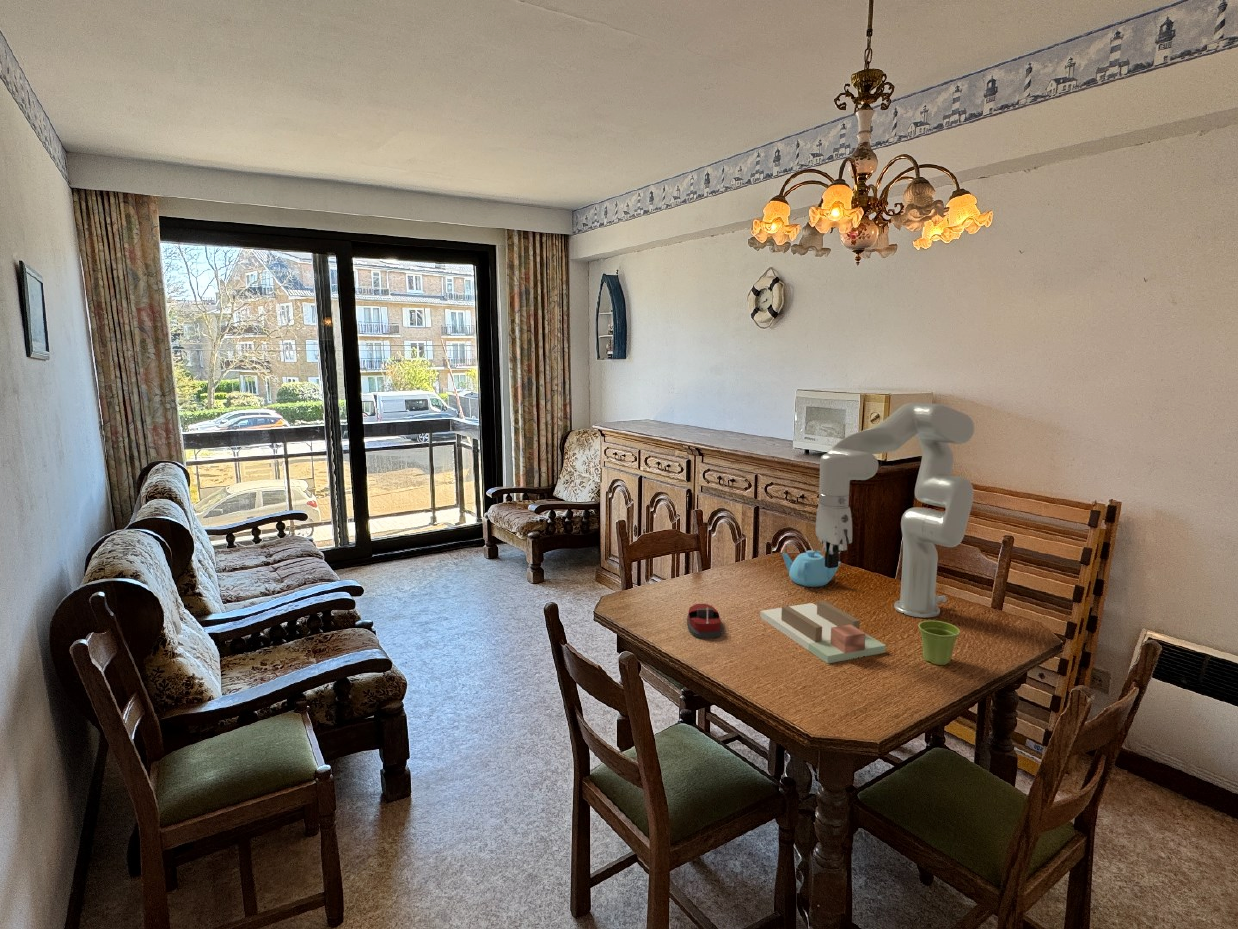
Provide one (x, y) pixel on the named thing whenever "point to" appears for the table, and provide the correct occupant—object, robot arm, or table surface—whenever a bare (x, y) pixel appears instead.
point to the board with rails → (818, 629)
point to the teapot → (809, 569)
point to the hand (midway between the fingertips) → (831, 566)
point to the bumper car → (704, 621)
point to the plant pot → (938, 641)
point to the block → (848, 638)
